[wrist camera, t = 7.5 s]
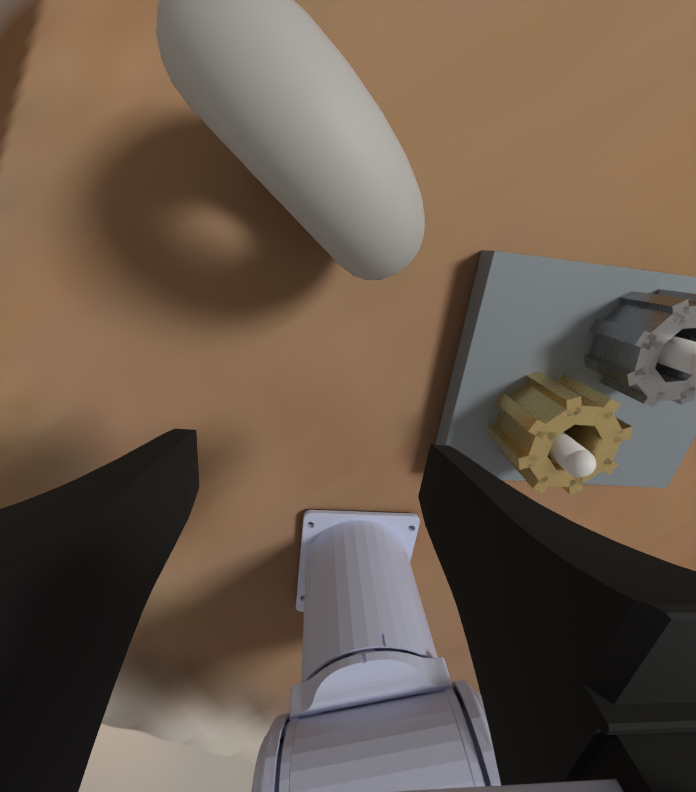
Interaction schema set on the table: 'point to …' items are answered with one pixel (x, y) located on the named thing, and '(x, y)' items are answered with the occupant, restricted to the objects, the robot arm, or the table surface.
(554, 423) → the brass gear
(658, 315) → the fixed gear
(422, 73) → the table surface
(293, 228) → the table surface
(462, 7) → the table surface
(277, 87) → the donut
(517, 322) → the gear board
